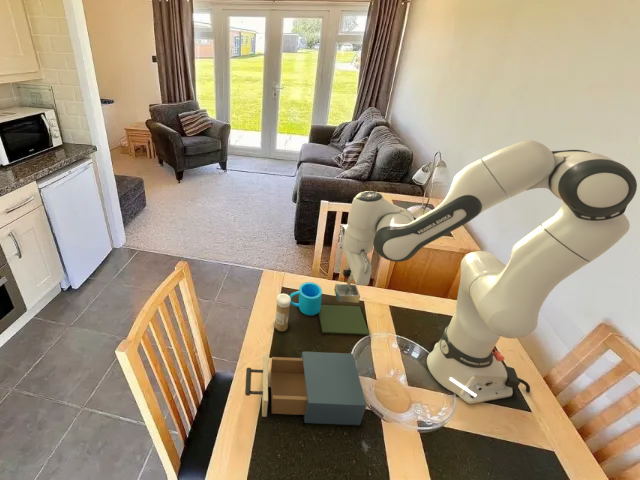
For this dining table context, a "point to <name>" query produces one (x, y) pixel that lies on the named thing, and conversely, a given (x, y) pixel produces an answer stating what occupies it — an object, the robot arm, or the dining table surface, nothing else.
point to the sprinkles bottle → (282, 312)
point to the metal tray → (347, 290)
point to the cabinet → (332, 389)
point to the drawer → (281, 386)
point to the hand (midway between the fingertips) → (351, 275)
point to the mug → (309, 298)
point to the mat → (342, 320)
